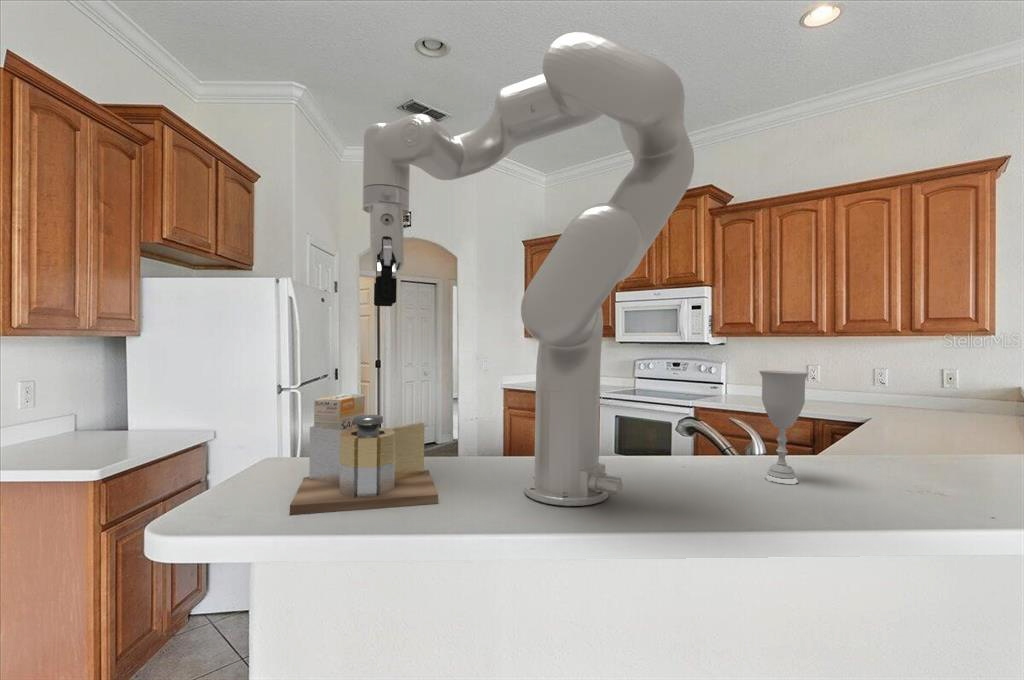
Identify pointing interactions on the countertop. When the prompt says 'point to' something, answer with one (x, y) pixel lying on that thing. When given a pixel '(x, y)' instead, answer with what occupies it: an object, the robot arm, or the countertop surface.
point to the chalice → (783, 410)
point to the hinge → (366, 458)
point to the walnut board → (330, 499)
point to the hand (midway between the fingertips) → (384, 304)
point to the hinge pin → (368, 424)
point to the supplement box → (338, 411)
